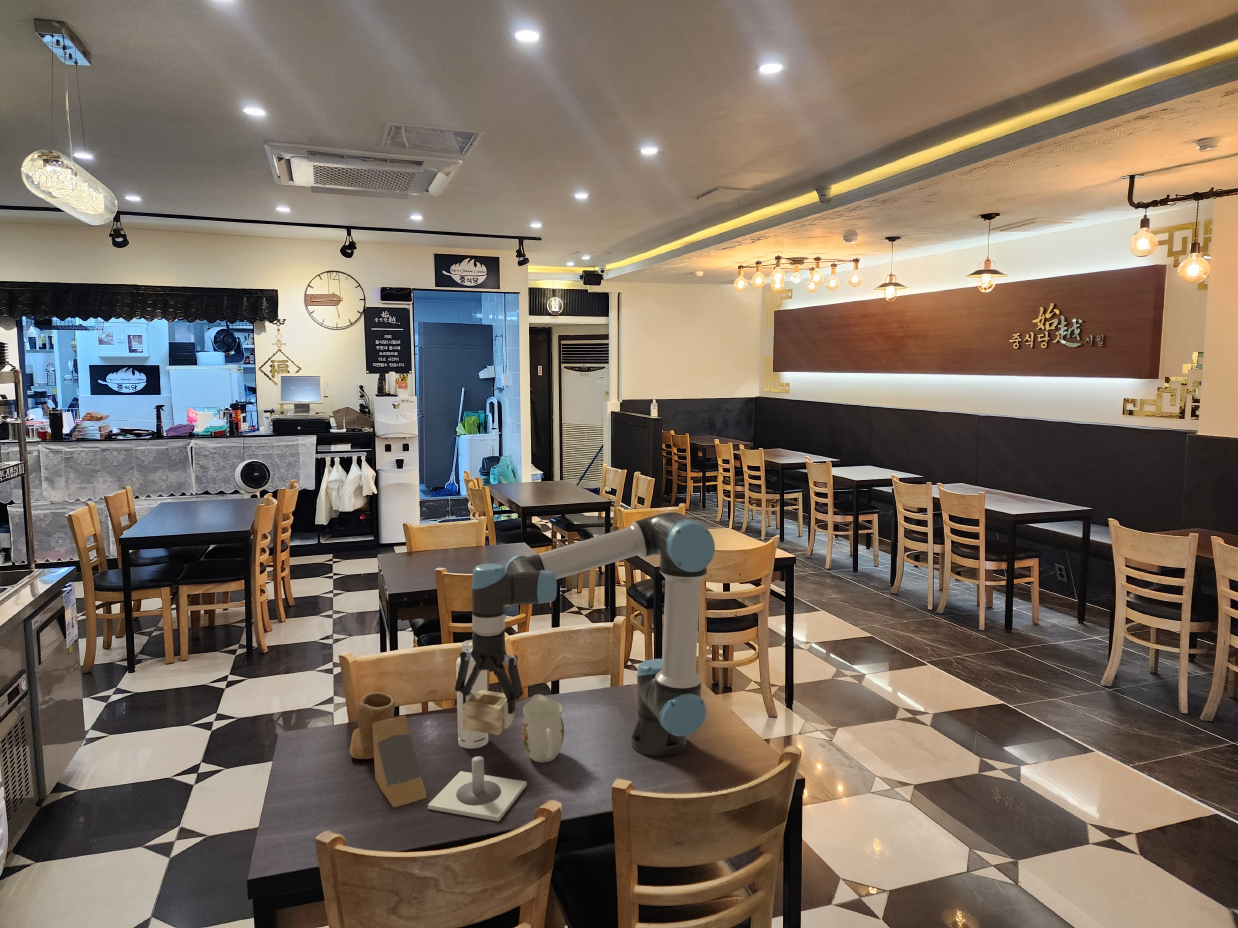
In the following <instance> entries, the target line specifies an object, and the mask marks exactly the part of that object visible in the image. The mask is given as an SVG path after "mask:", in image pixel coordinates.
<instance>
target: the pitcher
mask: <svg viewBox="0 0 1238 928" xmlns="http://www.w3.org/2000/svg"><path fill="white" fill-rule="evenodd" d="M563 708H564V707H563V705H562V704H561V703H560V702H559V701H557V700H554V699H550V698H548V697H547V696H545V695H543V694H540V693H539V694H538V693H537V694H534V695H533V696H532V698H531V700H529V702H527V703H526V704H525V705H524V706H523V708H522V712H523V716H524V720H523V723H522V726H521V727H522V730H521V735H522V741H523V742H522V743H523V746H524V748H525V752H526V753H527V755H528V756H529V757H530V759H531V760H533V761H534V762H537V763H547V762H552V761H553V760H555V759H556V757H557V756H558V755H559V754H560V752H561V749H562V746H563V743H564V740H565V739H564V738H565V726H564V724H565V723H564V722H563V721H564V720H563V719H562V715H563V714H562V713H563Z"/></svg>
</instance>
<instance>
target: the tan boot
mask: <svg viewBox="0 0 1238 928" xmlns="http://www.w3.org/2000/svg"><path fill="white" fill-rule="evenodd" d="M395 704H396V702H395V699H394V698H393V697H392V696H391V695H390V694H387V693H384V692H378V691H377V692H370V693H367V694H365V695H363V696H362V697H361V698H360V700H359V702H358V705H357V706H358V708H357V719H356V720H357V725H358V727H356V728H355V729H354V730H353V732H352V736H351V741H350V747H349V752H350V756H351V757H352V758H353V759H356V760H357V759H358V760H370V759H374V745H373V726H372V724H373V723H374V722H379V721H383V720H387V719H391V718H394V716H395V706H396V705H395Z"/></svg>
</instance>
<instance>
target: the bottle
mask: <svg viewBox="0 0 1238 928" xmlns="http://www.w3.org/2000/svg"><path fill="white" fill-rule="evenodd" d="M470 643H472V639H469V640H464V641H463V642H462V643H461V652H463V651H464V650H465V649H468V650H469V651H472V650H473V646H472V645H469V644H470ZM460 663H461V660H460V656H459V657H458V658H457V660H456V662H455V669H456V670H455V672H456V673H455V674H456V675H455V676H456V678H457V677H458V672H459V668H460ZM475 664H476V662H475V661H474V659H473V658H472V656H471V659H470V662H469V667H468V671H467V676H466V680H465V685H466V683H467V681H468V679H469V677H470V675H471V673H472V671H473V668H474V666H475ZM479 690H484V691H488V670H481V671H480V673H479V675H478V677H477V679H476V681H475V683H474V685H473V687H472V690H471V691H470V692H474V695H475V694H476V693H477V692H478V691H479ZM456 702H457V704H456V705H457V707H456V709H457V711H456V712H457V734H458V737H457V739H458V742H457V743H458V746H460V747H461V748H463V749H469V750H470V749H471V750H472V749H473V750H474V749H478V748H482V747H484V746H486V745H487V744H488V743H489V733H482V732H476V731H470V730H463V694H462V693H461V692H459V691H458V692H457V691H456Z"/></svg>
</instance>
